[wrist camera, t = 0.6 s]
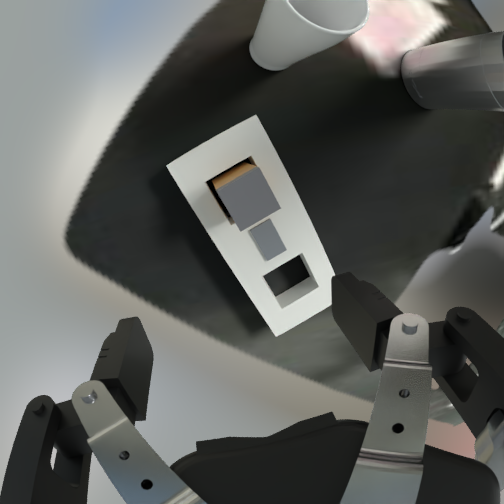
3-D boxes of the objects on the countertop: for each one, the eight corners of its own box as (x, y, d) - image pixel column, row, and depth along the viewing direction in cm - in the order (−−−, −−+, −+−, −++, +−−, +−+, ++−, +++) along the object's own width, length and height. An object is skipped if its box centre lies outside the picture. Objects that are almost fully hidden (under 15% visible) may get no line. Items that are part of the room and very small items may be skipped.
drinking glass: (309, 69, 28) (385, 31, 14) (254, 85, 28) (303, 41, 14) (287, 21, 25) (346, -40, 12) (232, 34, 25) (262, -37, 11)
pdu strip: (250, 117, 29) (256, 114, 26) (334, 286, 38) (345, 297, 35) (168, 163, 29) (165, 165, 26) (270, 323, 39) (276, 338, 36)
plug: (243, 161, 31) (259, 167, 23) (261, 193, 32) (281, 208, 25) (211, 180, 31) (216, 191, 23) (229, 211, 32) (240, 231, 25)
